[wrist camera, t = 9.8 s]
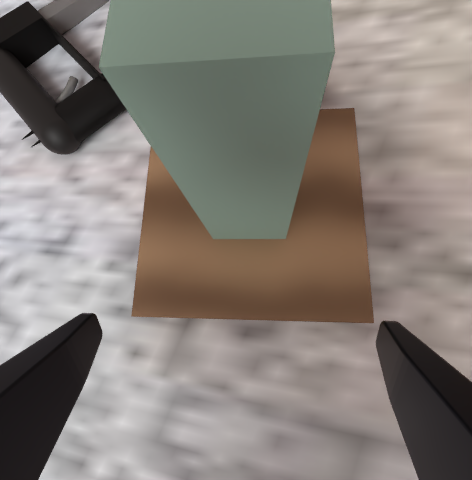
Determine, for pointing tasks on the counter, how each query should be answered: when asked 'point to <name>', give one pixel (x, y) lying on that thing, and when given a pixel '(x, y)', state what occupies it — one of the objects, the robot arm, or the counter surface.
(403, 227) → the counter surface
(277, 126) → the green post
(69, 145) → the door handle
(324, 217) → the walnut base
